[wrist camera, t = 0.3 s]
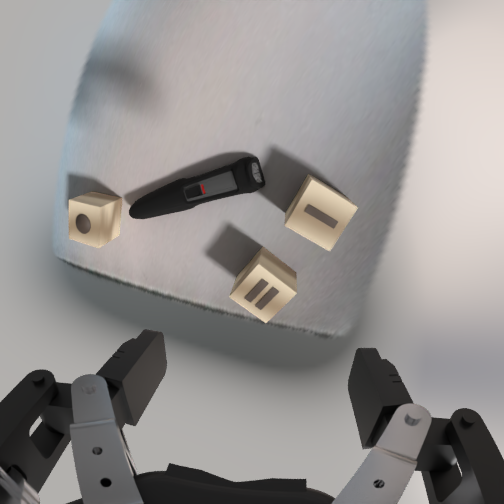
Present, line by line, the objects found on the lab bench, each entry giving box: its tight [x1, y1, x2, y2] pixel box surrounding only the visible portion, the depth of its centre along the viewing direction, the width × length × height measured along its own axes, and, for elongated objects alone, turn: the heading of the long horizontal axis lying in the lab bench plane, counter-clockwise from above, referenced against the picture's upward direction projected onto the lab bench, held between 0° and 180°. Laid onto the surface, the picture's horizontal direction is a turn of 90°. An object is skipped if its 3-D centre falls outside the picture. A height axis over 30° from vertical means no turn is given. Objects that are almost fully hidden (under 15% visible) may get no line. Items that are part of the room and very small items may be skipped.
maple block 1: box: [69, 191, 122, 248], centre depth 31 cm, size 5×5×5 cm
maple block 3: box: [285, 174, 358, 251], centre depth 28 cm, size 5×5×5 cm
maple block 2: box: [229, 247, 297, 323], centre depth 32 cm, size 5×5×5 cm
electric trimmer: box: [129, 157, 265, 219], centre depth 30 cm, size 4×16×3 cm, turn 106°
